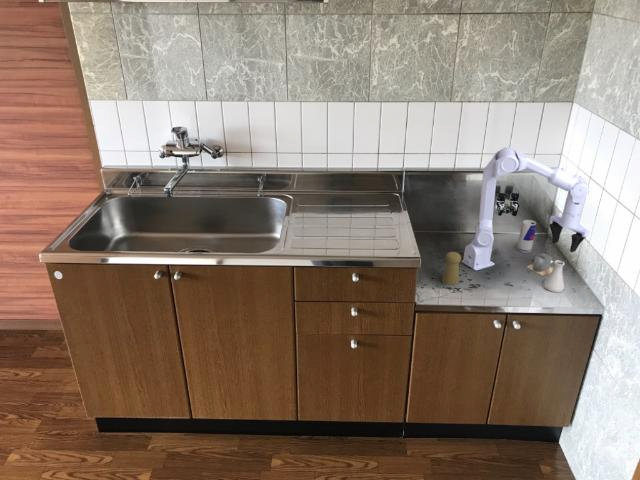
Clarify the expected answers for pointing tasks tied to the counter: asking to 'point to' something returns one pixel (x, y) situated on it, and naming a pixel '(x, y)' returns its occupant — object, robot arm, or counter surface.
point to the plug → (542, 262)
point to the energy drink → (526, 236)
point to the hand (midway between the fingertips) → (563, 246)
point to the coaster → (541, 271)
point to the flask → (555, 278)
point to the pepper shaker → (451, 269)
